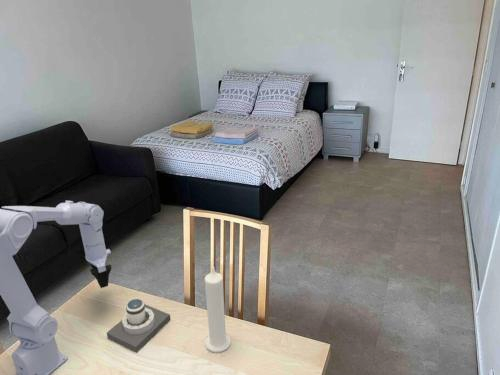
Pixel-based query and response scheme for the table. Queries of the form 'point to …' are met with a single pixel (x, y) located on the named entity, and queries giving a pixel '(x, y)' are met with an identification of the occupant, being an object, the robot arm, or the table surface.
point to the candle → (216, 313)
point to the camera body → (138, 329)
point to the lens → (136, 312)
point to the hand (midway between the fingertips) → (101, 279)
